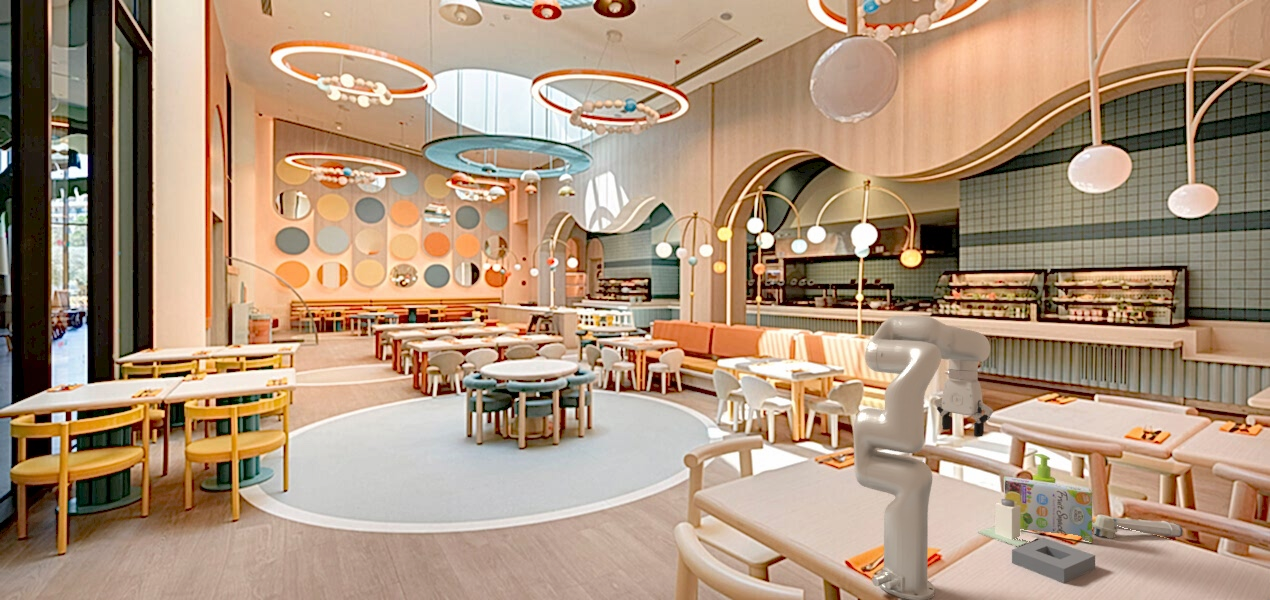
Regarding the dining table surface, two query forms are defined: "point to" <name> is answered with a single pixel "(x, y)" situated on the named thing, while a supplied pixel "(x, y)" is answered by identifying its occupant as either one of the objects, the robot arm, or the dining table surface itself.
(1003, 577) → the dining table surface
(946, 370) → the robot arm
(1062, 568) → the grey rectangular frame block
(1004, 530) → the plug
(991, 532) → the mat
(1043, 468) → the soap dispenser
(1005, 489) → the snack box
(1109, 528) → the hair straightener
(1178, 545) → the dining table surface
